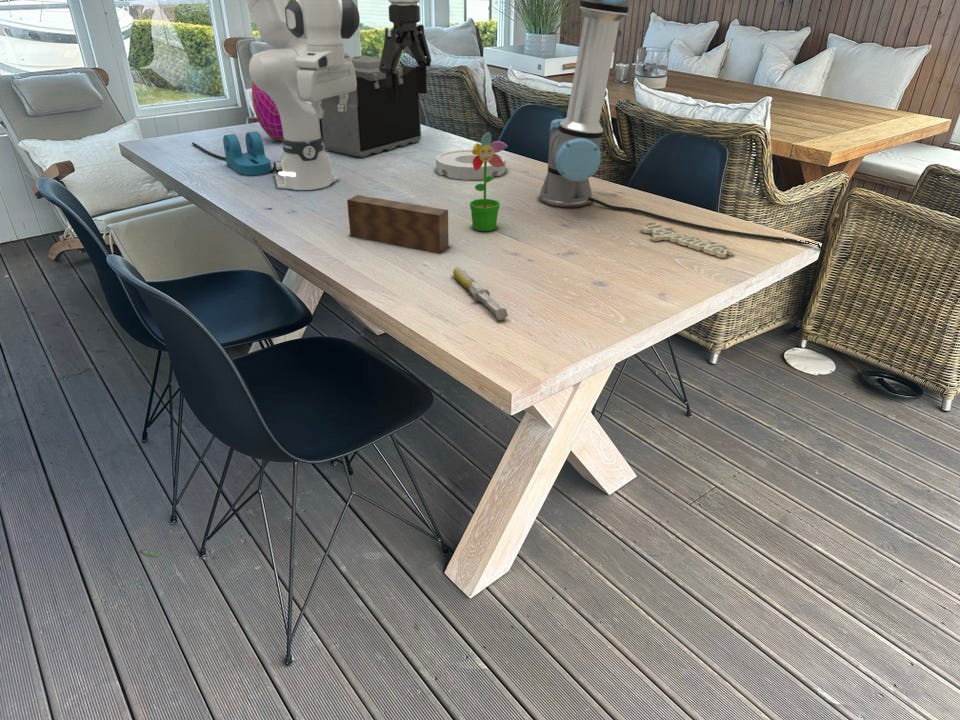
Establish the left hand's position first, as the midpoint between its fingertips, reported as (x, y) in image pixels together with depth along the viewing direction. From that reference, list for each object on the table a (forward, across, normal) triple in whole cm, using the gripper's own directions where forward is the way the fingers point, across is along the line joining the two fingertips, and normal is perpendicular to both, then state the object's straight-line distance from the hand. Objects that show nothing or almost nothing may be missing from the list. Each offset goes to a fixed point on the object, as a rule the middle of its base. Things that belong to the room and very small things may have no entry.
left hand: (331, 114), depth 178 cm
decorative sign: (+26, -20, +90) cm, 96 cm away
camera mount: (+26, -24, -53) cm, 64 cm away
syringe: (+26, +32, +58) cm, 71 cm away
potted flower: (+26, -7, +41) cm, 49 cm away
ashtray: (+26, -56, +13) cm, 63 cm away
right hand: (-4, -9, +18) cm, 20 cm away
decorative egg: (+26, -62, -70) cm, 97 cm away
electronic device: (+26, -70, -35) cm, 82 cm away
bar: (+26, +12, +26) cm, 39 cm away
